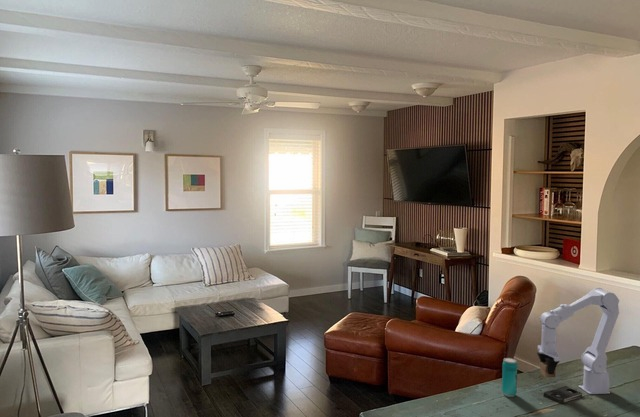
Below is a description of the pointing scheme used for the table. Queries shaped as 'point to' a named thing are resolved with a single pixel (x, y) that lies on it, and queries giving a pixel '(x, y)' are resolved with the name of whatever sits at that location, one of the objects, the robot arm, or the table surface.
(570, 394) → the vhs tape
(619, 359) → the table surface
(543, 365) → the walnut block
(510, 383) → the beverage can
